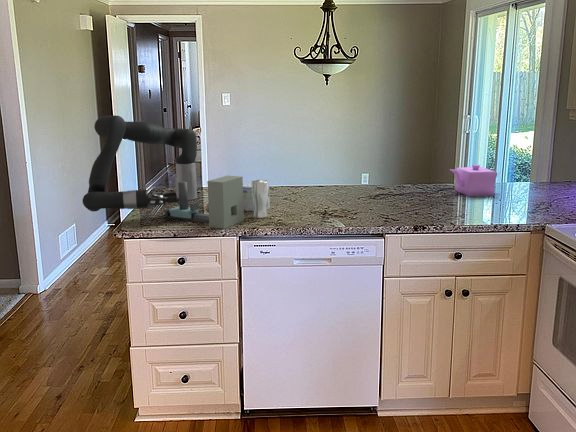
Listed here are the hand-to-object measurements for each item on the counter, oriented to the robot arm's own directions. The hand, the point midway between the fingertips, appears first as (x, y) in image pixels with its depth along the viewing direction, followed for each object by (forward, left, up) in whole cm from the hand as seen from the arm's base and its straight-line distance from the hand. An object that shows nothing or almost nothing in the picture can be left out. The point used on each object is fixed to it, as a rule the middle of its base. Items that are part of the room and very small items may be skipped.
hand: (176, 197), depth 228 cm
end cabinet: (+23, +2, -9) cm, 25 cm away
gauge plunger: (+20, +2, -5) cm, 21 cm away
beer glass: (+29, +18, -9) cm, 35 cm away
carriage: (+3, +2, -8) cm, 9 cm away
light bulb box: (+21, +28, -9) cm, 36 cm away
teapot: (+99, +105, -9) cm, 145 cm away
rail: (+7, +2, -9) cm, 11 cm away
